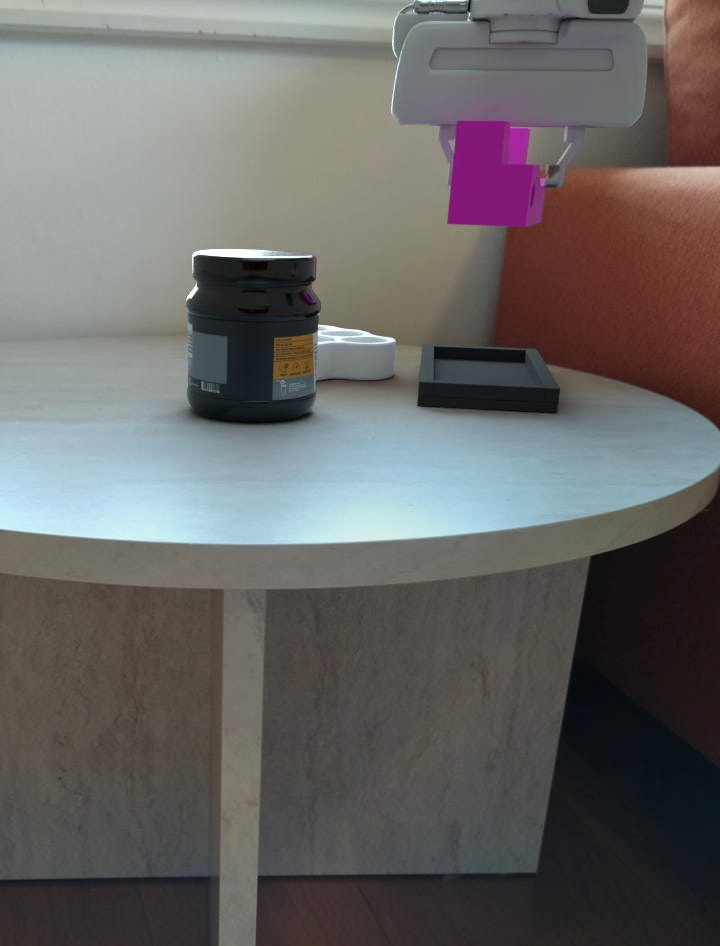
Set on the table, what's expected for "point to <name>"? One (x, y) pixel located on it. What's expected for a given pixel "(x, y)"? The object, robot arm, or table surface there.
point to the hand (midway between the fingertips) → (504, 187)
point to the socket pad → (486, 379)
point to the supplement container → (252, 334)
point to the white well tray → (353, 355)
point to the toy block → (494, 177)
